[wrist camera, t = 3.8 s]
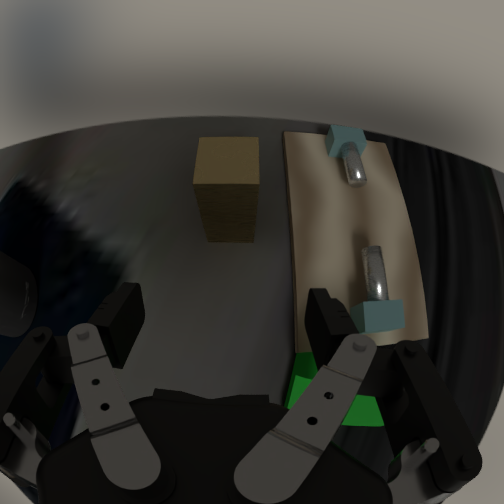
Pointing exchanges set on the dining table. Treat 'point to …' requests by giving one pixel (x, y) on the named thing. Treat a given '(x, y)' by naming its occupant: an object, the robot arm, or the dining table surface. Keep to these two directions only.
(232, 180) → the tan square-topped block
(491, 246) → the dining table surface
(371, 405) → the mechanical part
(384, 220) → the board
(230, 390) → the dining table surface
